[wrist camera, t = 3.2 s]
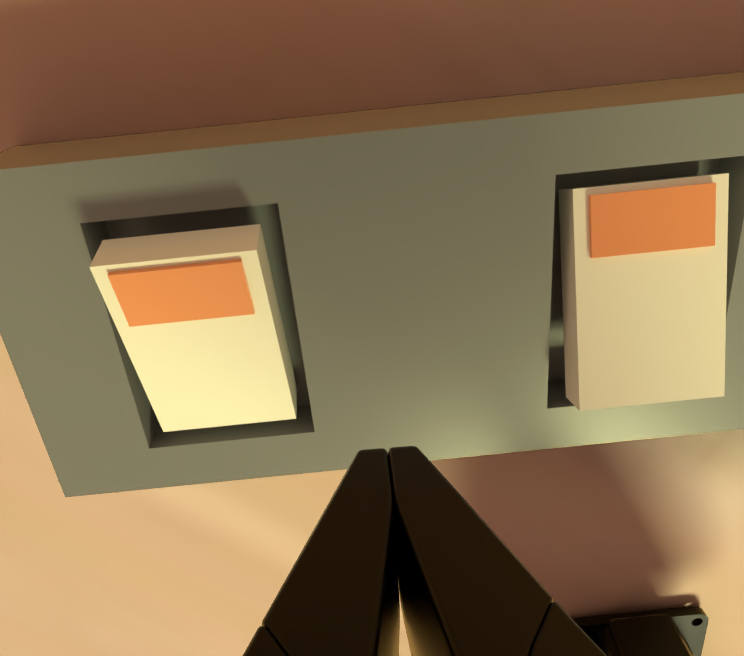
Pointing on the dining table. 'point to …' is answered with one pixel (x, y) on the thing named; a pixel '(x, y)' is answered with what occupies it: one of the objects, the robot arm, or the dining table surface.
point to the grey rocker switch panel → (358, 275)
